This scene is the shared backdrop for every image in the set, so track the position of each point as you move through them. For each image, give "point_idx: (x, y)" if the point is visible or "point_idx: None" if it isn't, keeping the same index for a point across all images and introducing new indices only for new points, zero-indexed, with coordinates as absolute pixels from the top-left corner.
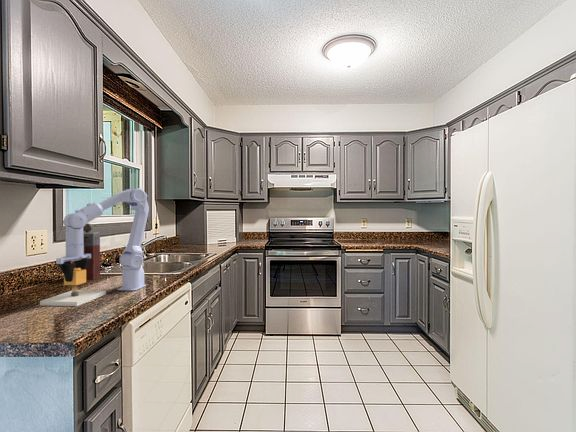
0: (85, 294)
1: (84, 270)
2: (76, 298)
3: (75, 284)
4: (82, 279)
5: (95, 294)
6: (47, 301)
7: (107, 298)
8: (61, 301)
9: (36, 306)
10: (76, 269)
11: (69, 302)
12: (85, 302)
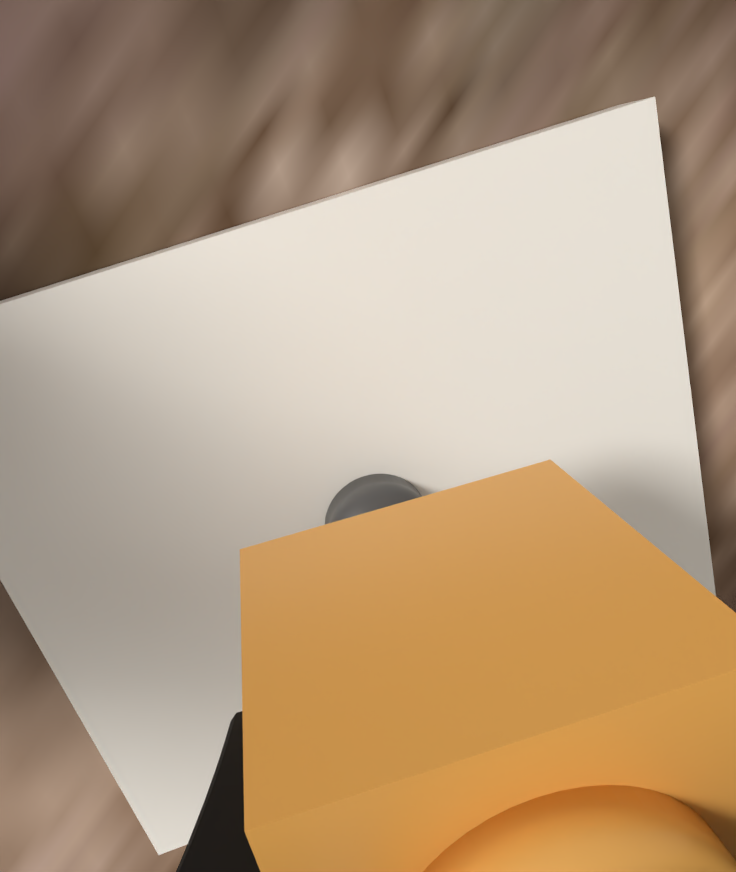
0: (261, 434)
1: (340, 779)
2: (498, 323)
3: (558, 479)
4: (380, 560)
5: (178, 262)
6: (708, 552)
7: (77, 15)
8: (683, 370)
9: (727, 597)
10: (683, 852)
11: (664, 235)
12: (437, 163)
